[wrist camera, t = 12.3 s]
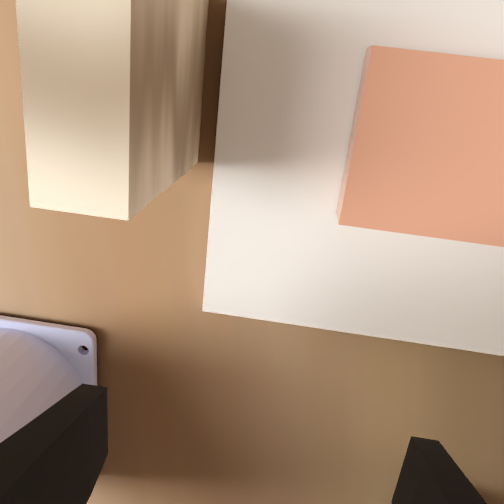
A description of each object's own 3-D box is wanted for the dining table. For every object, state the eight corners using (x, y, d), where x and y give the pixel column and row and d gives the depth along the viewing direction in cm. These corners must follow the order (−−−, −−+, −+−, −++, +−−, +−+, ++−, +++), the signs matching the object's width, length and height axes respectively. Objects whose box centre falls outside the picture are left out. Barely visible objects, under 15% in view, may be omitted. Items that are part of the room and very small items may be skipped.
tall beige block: (197, 162, 19) (128, 220, 11) (137, 154, 19) (30, 207, 11) (208, -5, 17) (131, -69, 9) (140, -13, 17) (9, -82, 9)
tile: (564, 255, 16) (634, 74, 14) (338, 224, 17) (371, 45, 15) (542, 240, 18) (603, 74, 16) (335, 212, 18) (365, 47, 16)
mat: (566, 359, 20) (573, 366, 20) (204, 305, 21) (202, 311, 21) (722, -4, 15) (735, -7, 14) (233, -54, 16) (231, -58, 15)
